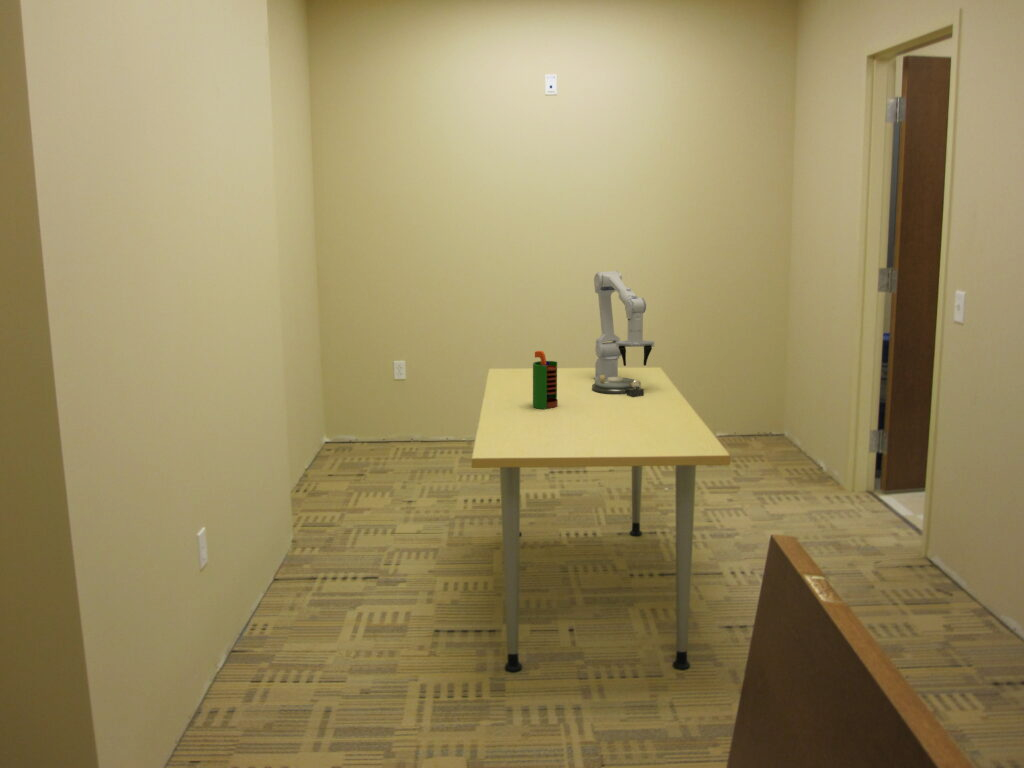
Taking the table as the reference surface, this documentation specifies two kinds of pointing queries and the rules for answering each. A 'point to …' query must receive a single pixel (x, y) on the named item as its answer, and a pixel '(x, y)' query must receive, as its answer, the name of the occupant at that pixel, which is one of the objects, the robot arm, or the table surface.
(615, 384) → the disc
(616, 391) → the plinth
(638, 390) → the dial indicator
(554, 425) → the table surface
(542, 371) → the motor
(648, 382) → the table surface
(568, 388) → the table surface
